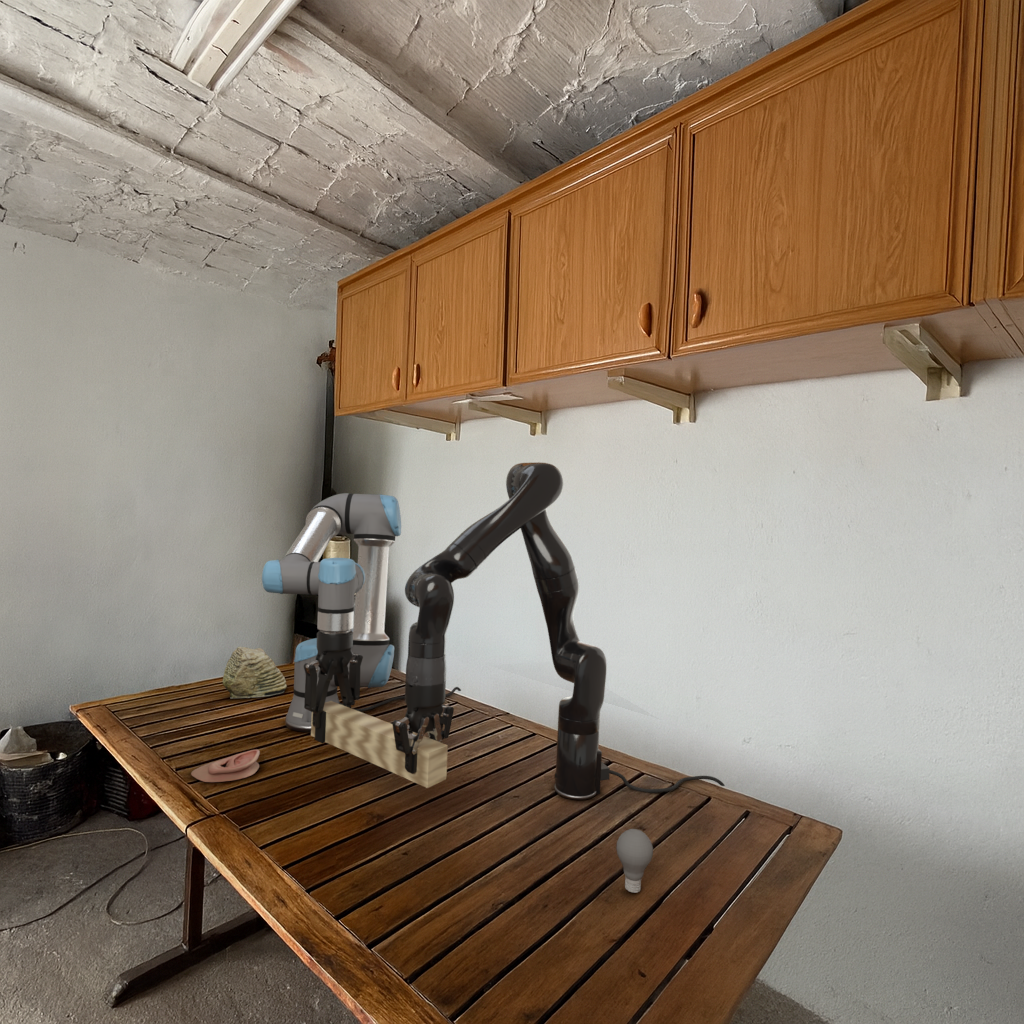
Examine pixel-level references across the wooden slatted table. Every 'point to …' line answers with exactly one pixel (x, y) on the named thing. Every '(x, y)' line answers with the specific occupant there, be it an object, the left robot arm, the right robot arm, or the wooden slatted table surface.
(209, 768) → the anatomical model
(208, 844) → the wooden slatted table surface
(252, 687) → the fossil
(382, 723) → the birch plank
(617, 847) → the light bulb
